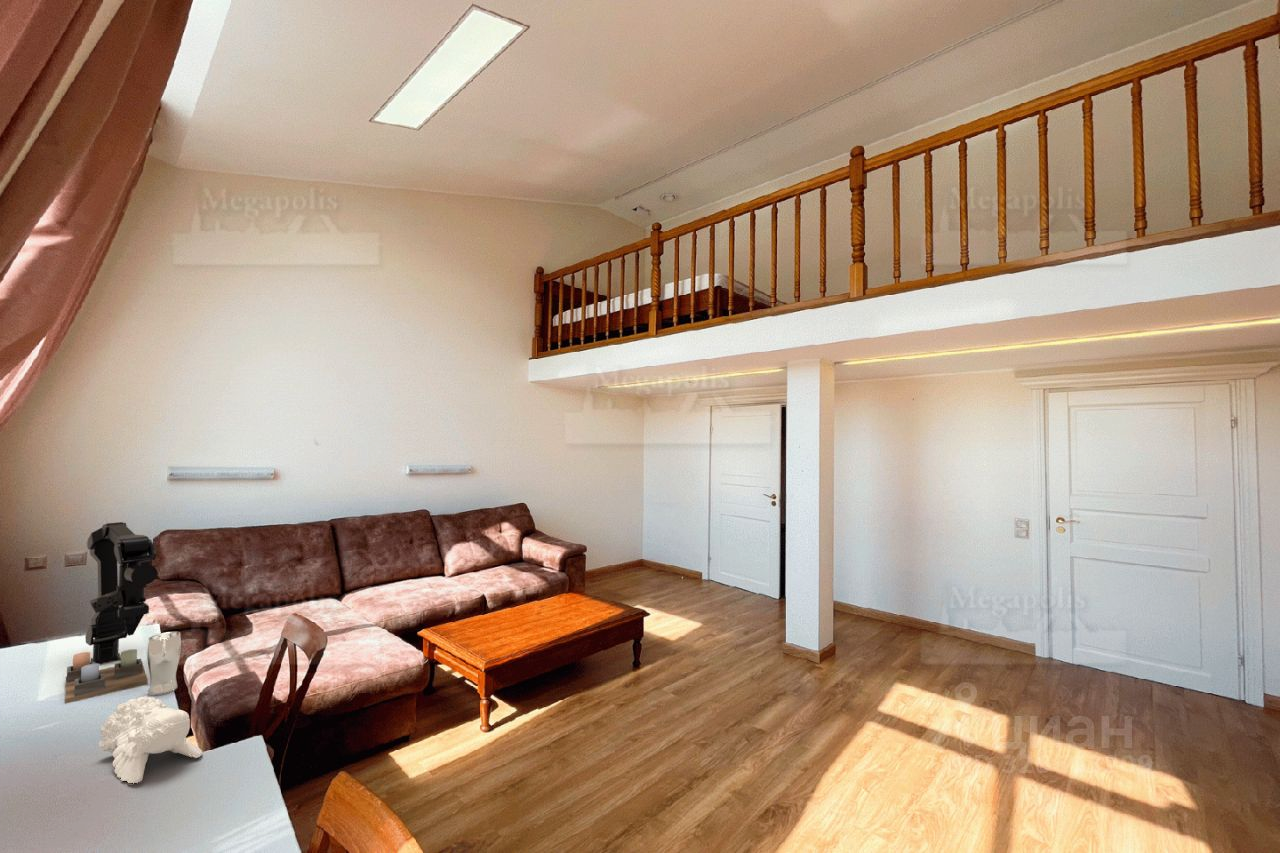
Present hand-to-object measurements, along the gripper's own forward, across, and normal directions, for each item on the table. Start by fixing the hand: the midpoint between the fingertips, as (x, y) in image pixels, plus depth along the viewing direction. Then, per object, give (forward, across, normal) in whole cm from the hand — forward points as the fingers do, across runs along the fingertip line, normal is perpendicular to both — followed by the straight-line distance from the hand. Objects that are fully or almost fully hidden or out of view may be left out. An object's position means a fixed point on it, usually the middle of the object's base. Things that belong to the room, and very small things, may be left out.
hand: (130, 635), depth 158 cm
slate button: (+9, +7, -8) cm, 14 cm away
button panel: (+12, 0, -5) cm, 13 cm away
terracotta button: (+9, -6, -10) cm, 15 cm away
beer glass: (+13, +18, +6) cm, 23 cm away
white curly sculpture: (+13, +59, 0) cm, 60 cm away
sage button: (+9, 0, 0) cm, 9 cm away
